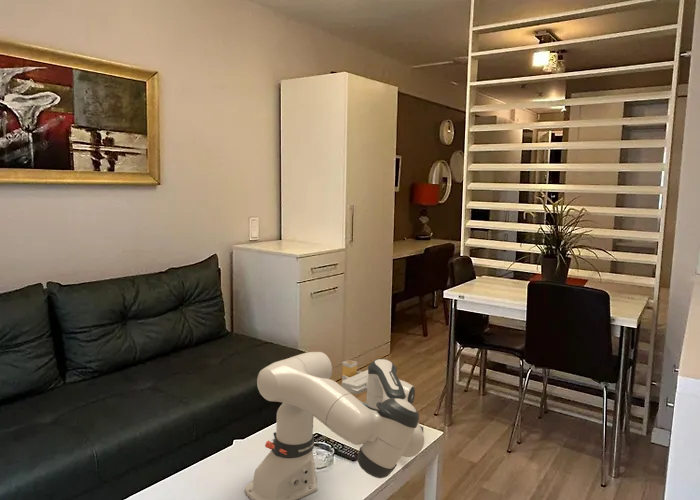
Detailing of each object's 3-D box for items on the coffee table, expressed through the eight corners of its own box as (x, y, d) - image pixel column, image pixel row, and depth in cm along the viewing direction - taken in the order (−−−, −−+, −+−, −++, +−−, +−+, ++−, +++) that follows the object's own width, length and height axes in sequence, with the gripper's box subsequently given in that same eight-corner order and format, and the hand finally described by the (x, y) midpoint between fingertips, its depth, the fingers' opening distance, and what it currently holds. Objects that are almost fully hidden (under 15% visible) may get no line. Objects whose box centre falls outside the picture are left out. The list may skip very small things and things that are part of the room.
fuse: (349, 397, 199) (350, 364, 198) (341, 394, 202) (342, 362, 200) (356, 394, 203) (357, 362, 201) (347, 391, 205) (349, 359, 204)
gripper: (358, 401, 186) (329, 390, 194) (391, 385, 202) (363, 375, 210) (359, 384, 185) (330, 374, 193) (391, 369, 201) (363, 360, 209)
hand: (347, 375), depth 202 cm, fingers closed on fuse, 4 cm apart
